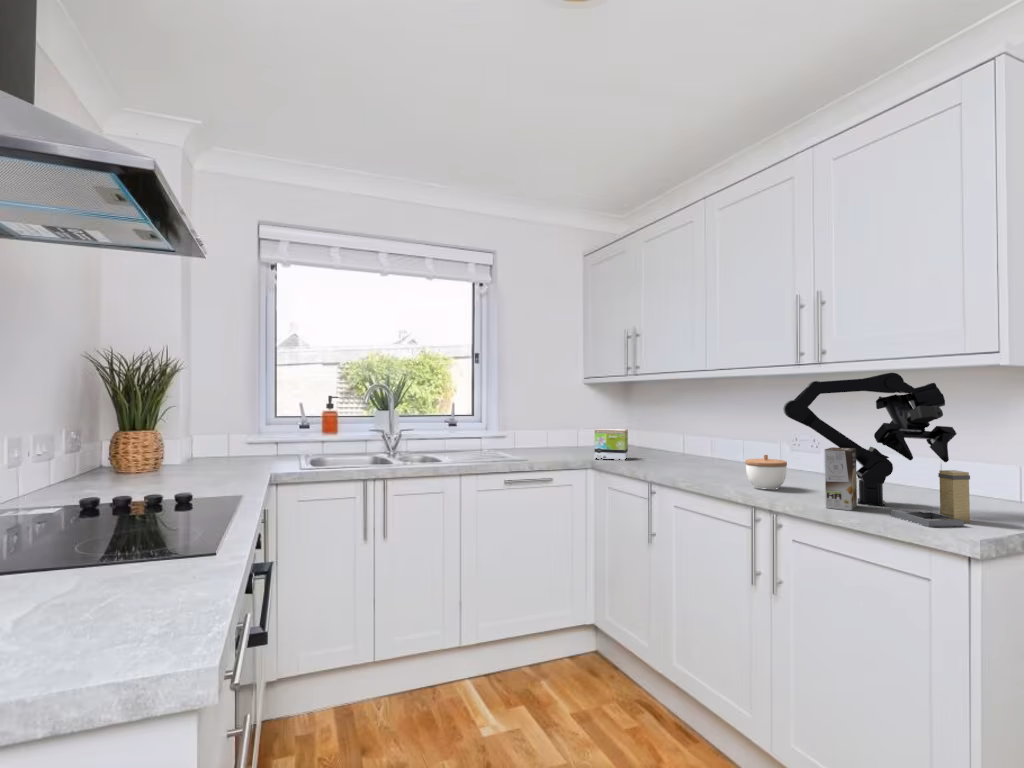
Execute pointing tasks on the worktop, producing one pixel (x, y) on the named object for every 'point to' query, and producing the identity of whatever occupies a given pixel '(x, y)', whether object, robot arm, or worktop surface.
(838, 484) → the coffee box
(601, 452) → the tea box
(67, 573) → the worktop surface
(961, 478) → the post
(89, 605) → the worktop surface
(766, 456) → the lidded bowl
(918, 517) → the rail plate
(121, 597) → the worktop surface
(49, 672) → the worktop surface
